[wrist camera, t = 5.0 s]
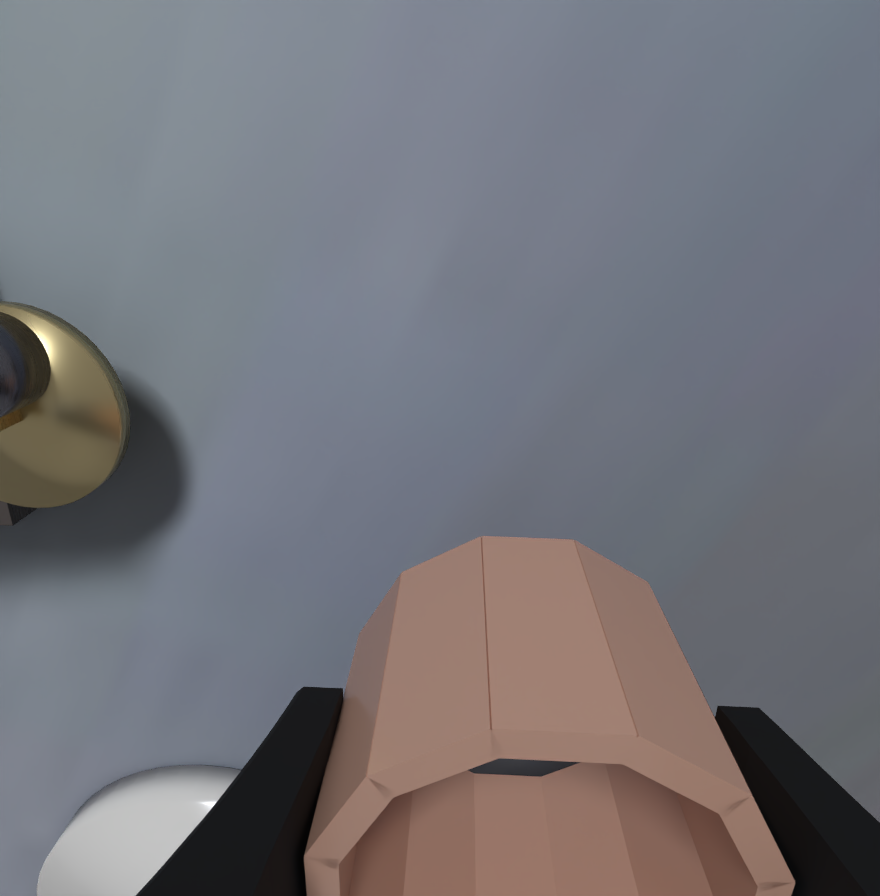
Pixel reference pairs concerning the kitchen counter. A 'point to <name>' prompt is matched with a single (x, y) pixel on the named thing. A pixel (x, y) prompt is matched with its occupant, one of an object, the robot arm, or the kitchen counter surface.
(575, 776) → the sleeve
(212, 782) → the white glossy domed part
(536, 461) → the kitchen counter surface
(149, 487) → the kitchen counter surface
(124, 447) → the balance
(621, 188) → the kitchen counter surface
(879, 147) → the kitchen counter surface
